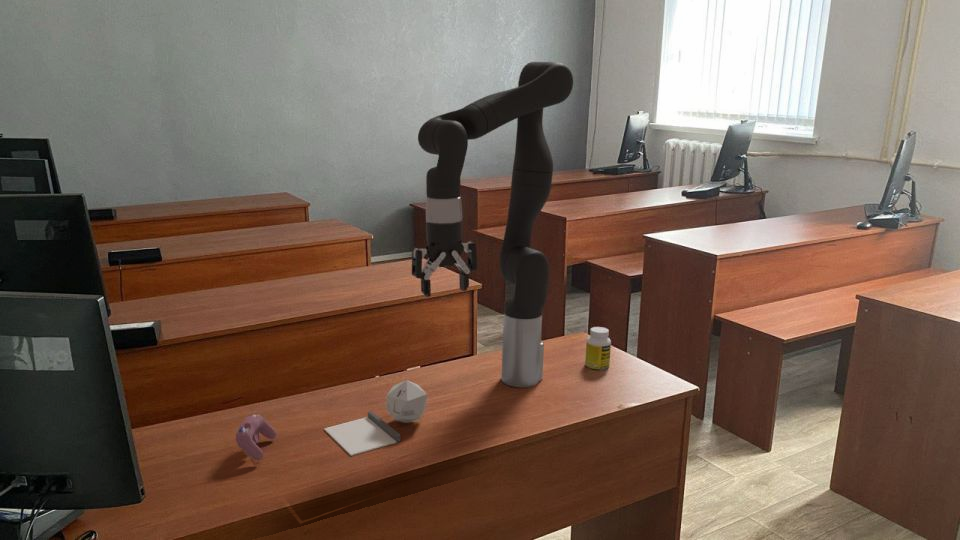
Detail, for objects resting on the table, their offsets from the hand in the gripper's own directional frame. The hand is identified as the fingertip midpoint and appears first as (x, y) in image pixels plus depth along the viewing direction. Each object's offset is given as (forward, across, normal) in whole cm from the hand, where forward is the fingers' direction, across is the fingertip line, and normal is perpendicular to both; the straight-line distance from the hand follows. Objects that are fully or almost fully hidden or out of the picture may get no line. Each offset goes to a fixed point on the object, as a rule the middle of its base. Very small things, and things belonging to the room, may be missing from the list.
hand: (445, 292), depth 153 cm
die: (+28, +10, +2) cm, 29 cm away
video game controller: (+26, +41, 0) cm, 49 cm away
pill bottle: (+29, -45, -5) cm, 54 cm away
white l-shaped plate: (+27, +21, +3) cm, 34 cm away
